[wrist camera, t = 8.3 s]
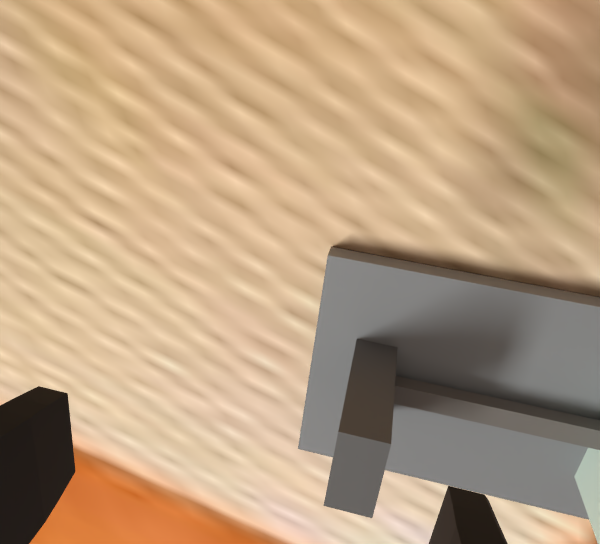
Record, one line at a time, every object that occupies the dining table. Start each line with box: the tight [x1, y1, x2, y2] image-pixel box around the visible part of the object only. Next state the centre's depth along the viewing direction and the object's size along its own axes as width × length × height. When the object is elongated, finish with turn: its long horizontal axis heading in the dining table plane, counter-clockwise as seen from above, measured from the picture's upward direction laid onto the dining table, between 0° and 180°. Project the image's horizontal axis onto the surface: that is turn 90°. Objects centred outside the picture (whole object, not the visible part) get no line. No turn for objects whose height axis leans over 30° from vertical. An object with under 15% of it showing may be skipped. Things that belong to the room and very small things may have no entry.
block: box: [324, 339, 600, 544], centre depth 17 cm, size 5×14×5 cm, turn 83°
